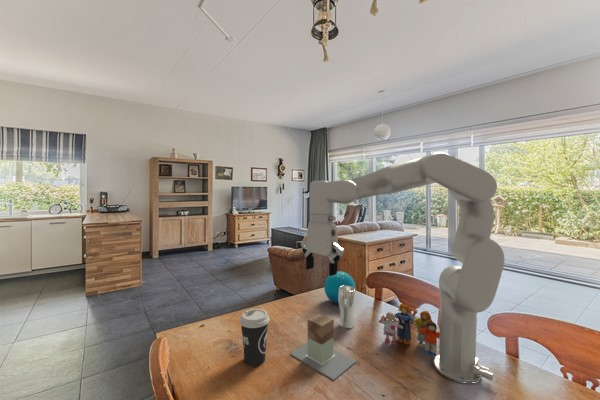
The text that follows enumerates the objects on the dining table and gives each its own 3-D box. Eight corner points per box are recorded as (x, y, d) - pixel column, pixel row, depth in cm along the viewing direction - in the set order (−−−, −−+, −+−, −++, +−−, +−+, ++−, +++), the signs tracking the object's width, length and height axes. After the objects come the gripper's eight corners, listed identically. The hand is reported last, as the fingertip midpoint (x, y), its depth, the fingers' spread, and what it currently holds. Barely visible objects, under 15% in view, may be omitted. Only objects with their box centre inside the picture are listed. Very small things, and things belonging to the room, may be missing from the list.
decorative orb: (342, 294, 144) (342, 266, 143) (361, 305, 131) (362, 274, 130) (318, 300, 136) (318, 270, 136) (336, 312, 123) (337, 279, 123)
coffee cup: (256, 347, 95) (256, 305, 95) (275, 358, 89) (276, 313, 88) (233, 361, 88) (233, 315, 87) (253, 374, 82) (253, 324, 81)
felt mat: (356, 362, 88) (356, 360, 88) (333, 380, 79) (333, 379, 79) (313, 340, 100) (313, 338, 100) (290, 354, 91) (290, 353, 91)
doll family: (377, 341, 100) (378, 305, 99) (383, 329, 108) (384, 296, 108) (443, 359, 89) (444, 319, 89) (444, 345, 97) (445, 308, 97)
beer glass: (356, 329, 108) (357, 291, 108) (339, 329, 108) (339, 291, 108) (353, 320, 115) (354, 285, 114) (337, 320, 115) (337, 285, 115)
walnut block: (333, 337, 90) (333, 319, 90) (321, 344, 86) (322, 325, 86) (319, 330, 94) (319, 313, 94) (307, 337, 90) (307, 319, 90)
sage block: (333, 355, 90) (333, 337, 90) (321, 363, 86) (321, 344, 86) (319, 347, 94) (319, 330, 94) (307, 355, 90) (307, 337, 90)
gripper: (350, 220, 85) (350, 274, 86) (309, 216, 97) (308, 264, 98) (336, 222, 80) (335, 280, 80) (294, 217, 92) (294, 268, 92)
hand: (321, 271), depth 89 cm, fingers open, 9 cm apart
